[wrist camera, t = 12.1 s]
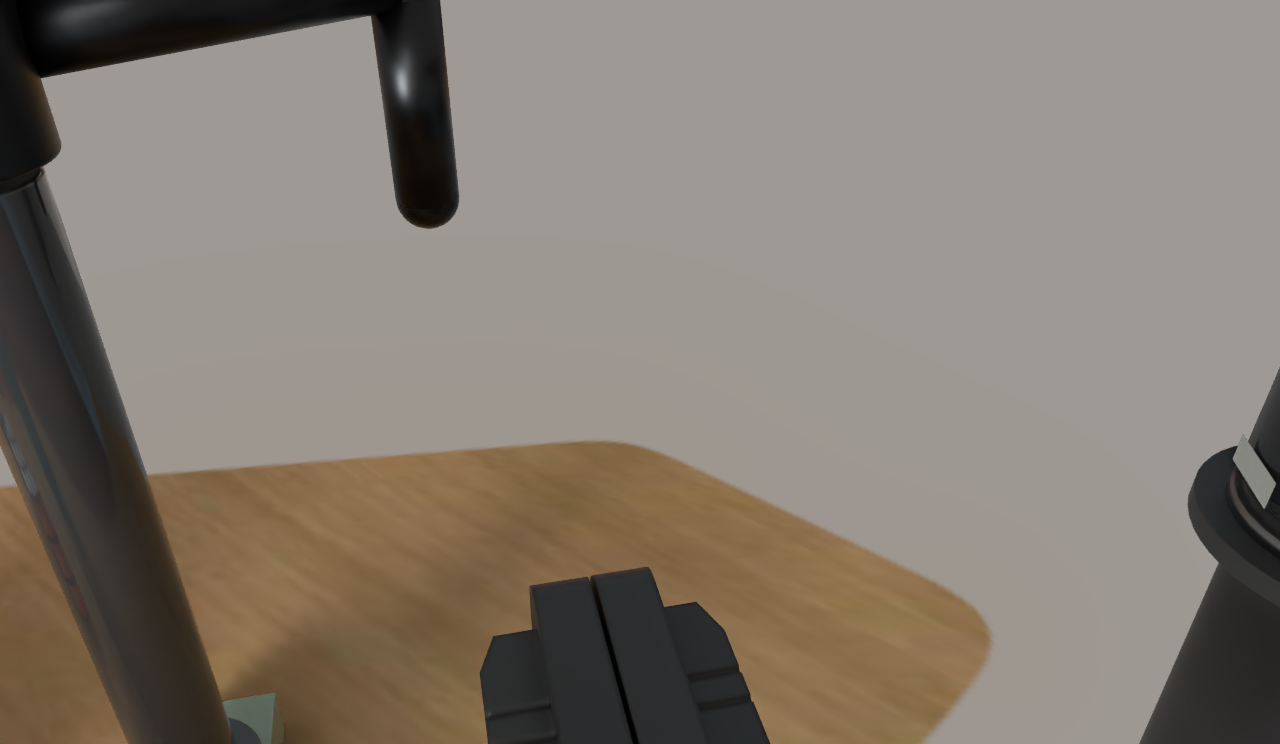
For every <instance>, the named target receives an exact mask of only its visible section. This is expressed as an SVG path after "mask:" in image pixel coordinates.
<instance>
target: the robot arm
mask: <svg viewBox="0 0 1280 744" xmlns="http://www.w3.org/2000/svg"><path fill="white" fill-rule="evenodd" d="M1233 461H1234V462H1235V464H1236V465H1235V467H1234V469H1233V471H1232V474H1231V476H1230V479H1229V481H1228V484H1227V490H1226V494H1227V500H1228V504H1229V507H1230V509H1231V511H1232V513H1233V515H1234V516H1235V518H1236V520H1237V521H1238V522H1239V524H1240V525H1241V526H1242V527H1243V529H1244V530H1245V531H1246V532H1247V533H1248V534H1249V535H1250V536H1251V537H1252V538H1253V539H1254V540H1255V541H1256V542H1257V543H1259V544H1260V545H1261V546H1262V547H1263V548H1265V549H1266V550H1267V551H1269V552H1270V553H1271V554H1273V555H1274V556H1276V557H1277V558H1279V559H1280V368H1279V370H1278V373H1277V375H1276V378H1275V380H1274V382H1273V385H1272V387H1271V390H1270V392H1269V394H1268V396H1267V399H1266V401H1265V404H1264V406H1263V408H1262V410H1261V412H1260V415H1259V417H1258V419H1257V422H1256V424H1255V426H1254V429H1253V431H1252V434H1251V436H1250V438H1249V441H1247V439H1246V438H1245V436H1244V435H1242V438H1241V440H1240V443H1239V445H1238V447H1237V450H1236V452H1235V455H1234V457H1233ZM530 606H531V620H532V630H528V631H522V632H516V633H510V634H504V635H498V636H493V638H492V641H491V644H490V647H489V649H488V652H487V655H486V658H485V660H484V663H483V666H482V669H481V671H480V679H481V687H482V695H483V704H484V712H485V721H486V729H487V738H488V744H770V742H769V740H768V737H767V735H766V732H765V730H764V727H763V725H762V722H761V720H760V717H759V715H758V712H757V710H756V707H755V705H754V702H752V701H751V698H750V692H749V690H748V687H747V685H746V682H745V680H744V677H743V675H742V672H741V673H740V671H739V665H738V662H737V660H736V657H735V655H734V652H733V650H732V647H731V645H730V642H729V640H728V637H727V635H726V632H725V630H724V629H723V628H722V627H721V626H720V625H719V624H718V623H717V622H716V621H715V620H714V619H713V618H712V617H711V616H710V615H709V614H708V613H707V612H706V611H705V610H704V609H703V608H702V607H701V606H700V605H699V604H698V603H697V602H693V603H687V604H681V605H675V606H669V607H664V606H663V603H662V600H661V597H660V594H659V591H658V588H657V585H656V582H655V579H654V577H653V574H652V572H651V570H650V568H649V567H643V568H637V569H630V570H624V571H618V572H611V573H605V574H599V575H593V576H591V578H590V581H589V579H588V577H582V578H576V579H569V580H563V581H557V582H551V583H544V584H538V585H532V586H530Z"/></svg>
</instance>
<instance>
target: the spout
mask: <svg viewBox="0 0 1280 744" xmlns="http://www.w3.org/2000/svg"><path fill="white" fill-rule="evenodd" d="M365 16H371V19H372V26H373V34H374V40H375V48H376V56H377V63H378V71H379V78H380V86H381V93H382V100H383V108H384V114H385V123H386V130H387V137H388V145H389V152H390V159H391V166H392V174H393V182H394V189H395V197H396V201H397V206H398V209H399V211H400V212H401V214H402V215H403V217H404V218H405V219H406V220H407V221H409V222H410V223H411V224H413V225H415V226H417V227H421V228H427V229H430V228H436V227H439V226H442V225H444V224H445V223H447V222H448V221H449V220H450V219H451V218H452V217H453V216H454V214H455V212H456V210H457V208H458V203H459V191H458V180H457V170H456V159H455V149H454V139H453V129H452V118H451V108H450V98H449V88H448V77H447V67H446V57H445V47H444V36H443V26H442V17H441V6H440V0H0V183H1V182H5V181H8V180H11V179H14V178H17V177H20V176H22V175H25V174H28V173H30V172H32V171H34V170H37V169H39V168H41V167H43V166H44V165H46V164H48V163H49V162H51V161H52V160H53V159H54V158H56V156H57V155H58V154H59V152H60V150H61V141H60V138H59V134H58V131H57V128H56V125H55V122H54V119H53V116H52V113H51V109H50V106H49V103H48V100H47V97H46V94H45V91H44V88H43V85H42V81H41V78H45V77H50V76H55V75H61V74H66V73H71V72H76V71H82V70H86V69H92V68H97V67H102V66H108V65H113V64H118V63H124V62H128V61H134V60H139V59H144V58H149V57H155V56H160V55H165V54H171V53H176V52H182V51H187V50H192V49H197V48H203V47H207V46H213V45H218V44H223V43H228V42H234V41H239V40H245V39H250V38H255V37H260V36H266V35H271V34H276V33H281V32H287V31H292V30H297V29H302V28H308V27H313V26H318V25H323V24H329V23H334V22H339V21H344V20H350V19H355V18H360V17H365Z"/></svg>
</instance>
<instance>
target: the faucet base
mask: <svg viewBox="0 0 1280 744" xmlns="http://www.w3.org/2000/svg"><path fill="white" fill-rule="evenodd" d="M0 446H1V449H2V451H3V453H4V456H5V458H6V460H7V463H8V465H9V467H10V470H11V472H12V474H13V477H14V479H15V481H16V484H17V486H18V488H19V491H20V493H21V495H22V498H23V500H24V502H25V505H26V507H27V509H28V512H29V514H30V516H31V519H32V521H33V523H34V526H35V528H36V531H37V533H38V535H39V538H40V540H41V542H42V545H43V547H44V549H45V552H46V554H47V556H48V559H49V561H50V563H51V566H52V568H53V570H54V573H55V575H56V577H57V580H58V582H59V584H60V587H61V589H62V591H63V594H64V596H65V598H66V601H67V603H68V605H69V608H70V610H71V612H72V615H73V617H74V619H75V622H76V624H77V626H78V629H79V631H80V633H81V636H82V638H83V640H84V643H85V645H86V647H87V650H88V652H89V654H90V657H91V659H92V661H93V664H94V666H95V668H96V671H97V673H98V675H99V678H100V680H101V682H102V685H103V687H104V689H105V692H106V694H107V696H108V699H109V701H110V703H111V706H112V708H113V711H114V713H115V715H116V718H117V720H118V722H119V725H120V727H121V729H122V732H123V734H124V736H125V739H126V741H127V743H128V744H283V741H284V729H285V724H284V720H283V717H282V713H281V710H280V706H279V703H278V699H277V696H276V693H274V692H273V693H267V694H261V695H256V696H250V697H244V698H238V699H232V700H226V701H222V698H221V695H220V692H219V689H218V686H217V683H216V680H215V677H214V674H213V671H212V668H211V665H210V662H209V659H208V656H207V653H206V650H205V647H204V644H203V641H202V638H201V635H200V632H199V629H198V626H197V623H196V620H195V617H194V614H193V612H192V609H191V606H190V603H189V600H188V597H187V594H186V591H185V588H184V585H183V582H182V579H181V576H180V573H179V570H178V567H177V564H176V561H175V558H174V555H173V552H172V549H171V546H170V543H169V540H168V537H167V534H166V531H165V528H164V525H163V522H162V519H161V516H160V513H159V510H158V507H157V504H156V501H155V498H154V495H153V492H152V489H151V486H150V483H149V480H148V477H147V474H146V471H145V468H144V465H143V462H142V459H141V456H140V453H139V450H138V447H137V444H136V441H135V438H134V435H133V432H132V429H131V426H130V423H129V420H128V417H127V414H126V411H125V408H124V405H123V402H122V399H121V396H120V393H119V390H118V387H117V384H116V381H115V378H114V375H113V372H112V369H111V366H110V363H109V360H108V357H107V354H106V351H105V348H104V345H103V342H102V339H101V336H100V333H99V330H98V327H97V324H96V321H95V319H94V315H93V313H92V309H91V306H90V304H89V301H88V297H87V294H86V292H85V288H84V285H83V282H82V279H81V276H80V274H79V270H78V268H77V264H76V262H75V259H74V256H73V253H72V250H71V247H70V244H69V241H68V238H67V235H66V232H65V229H64V226H63V223H62V220H61V217H60V214H59V211H58V208H57V205H56V202H55V199H54V196H53V193H52V190H51V187H50V184H49V181H48V178H47V175H46V172H45V169H44V167H41V168H39V169H37V170H34V171H32V172H30V173H28V174H25V175H22V176H20V177H17V178H14V179H11V180H8V181H5V182H1V183H0Z"/></svg>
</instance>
